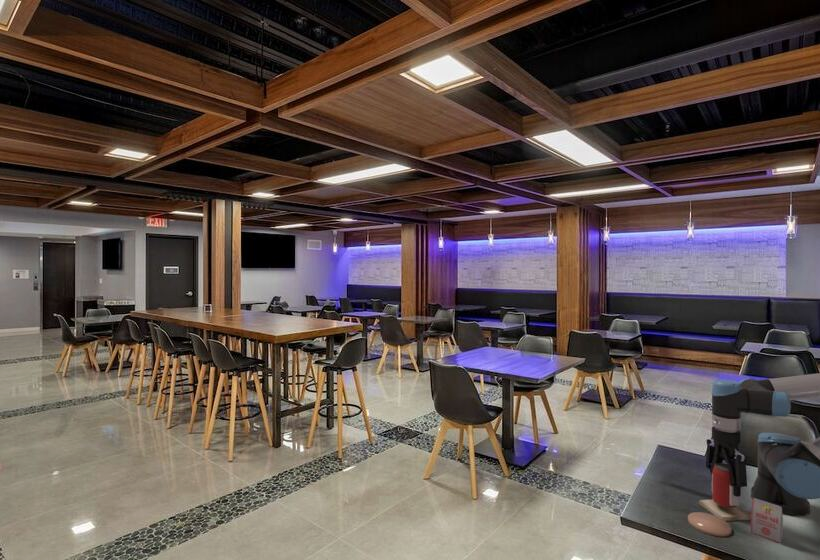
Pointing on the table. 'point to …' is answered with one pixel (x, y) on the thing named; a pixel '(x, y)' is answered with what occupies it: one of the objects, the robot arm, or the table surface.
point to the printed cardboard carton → (767, 520)
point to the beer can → (721, 485)
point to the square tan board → (725, 511)
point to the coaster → (709, 524)
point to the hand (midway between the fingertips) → (725, 498)
